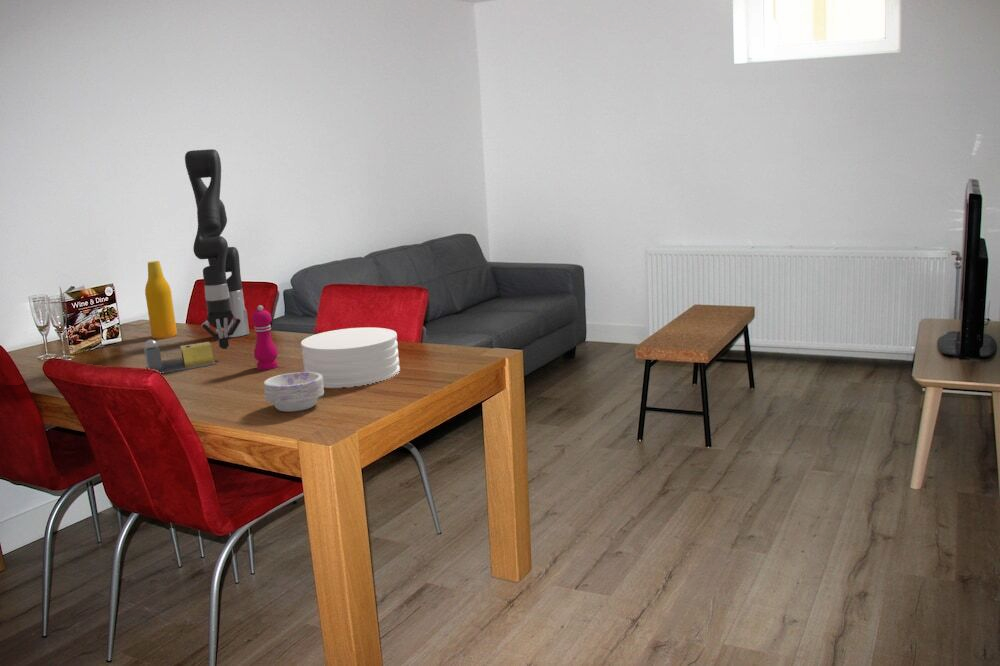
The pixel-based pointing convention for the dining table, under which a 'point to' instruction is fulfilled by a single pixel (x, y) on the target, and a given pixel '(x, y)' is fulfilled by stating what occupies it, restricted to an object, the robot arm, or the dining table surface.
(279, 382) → the paper bowls
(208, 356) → the yellow block
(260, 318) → the pepper mill
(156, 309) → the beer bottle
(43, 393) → the dining table surface
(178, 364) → the grey fixture stand
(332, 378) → the plate stack
